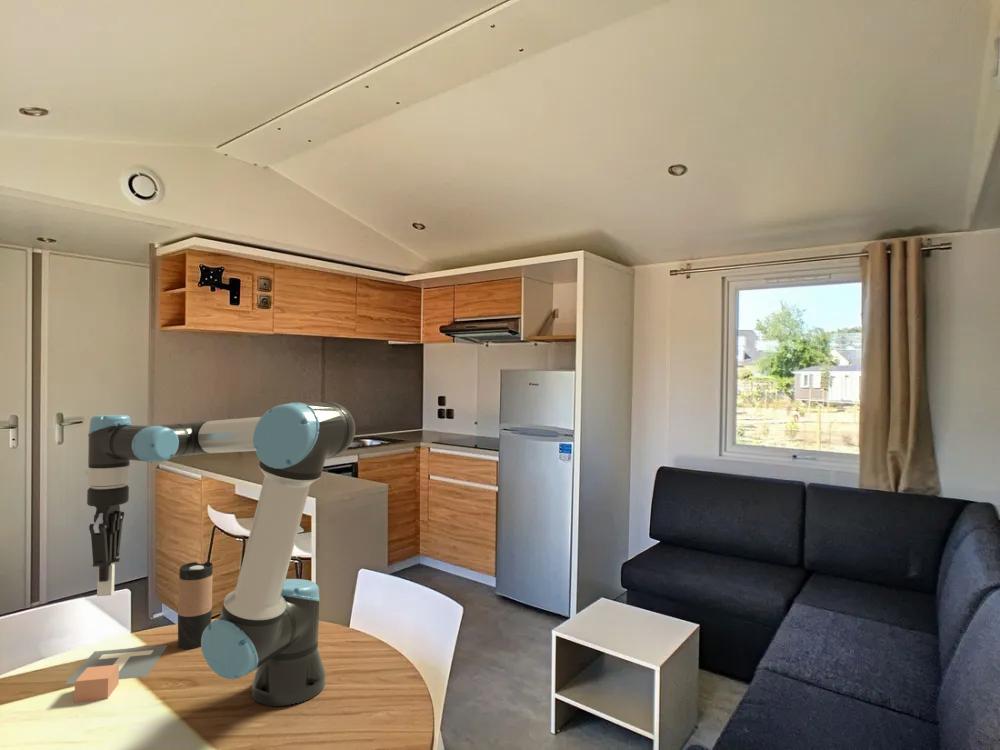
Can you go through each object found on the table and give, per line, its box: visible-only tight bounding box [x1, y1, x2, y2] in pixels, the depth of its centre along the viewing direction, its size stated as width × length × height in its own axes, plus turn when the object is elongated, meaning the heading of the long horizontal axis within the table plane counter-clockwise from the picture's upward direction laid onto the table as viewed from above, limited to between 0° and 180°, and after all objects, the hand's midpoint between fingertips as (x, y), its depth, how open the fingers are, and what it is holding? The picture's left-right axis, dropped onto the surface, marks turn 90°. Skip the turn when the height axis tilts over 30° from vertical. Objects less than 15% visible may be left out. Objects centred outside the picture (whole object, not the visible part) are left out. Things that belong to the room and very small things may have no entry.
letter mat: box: [64, 644, 169, 686], centre depth 136 cm, size 16×16×1 cm
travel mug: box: [177, 561, 214, 650], centre depth 147 cm, size 8×8×20 cm
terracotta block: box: [73, 665, 120, 703], centre depth 123 cm, size 6×6×5 cm
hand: (105, 594), depth 126 cm, fingers closed
